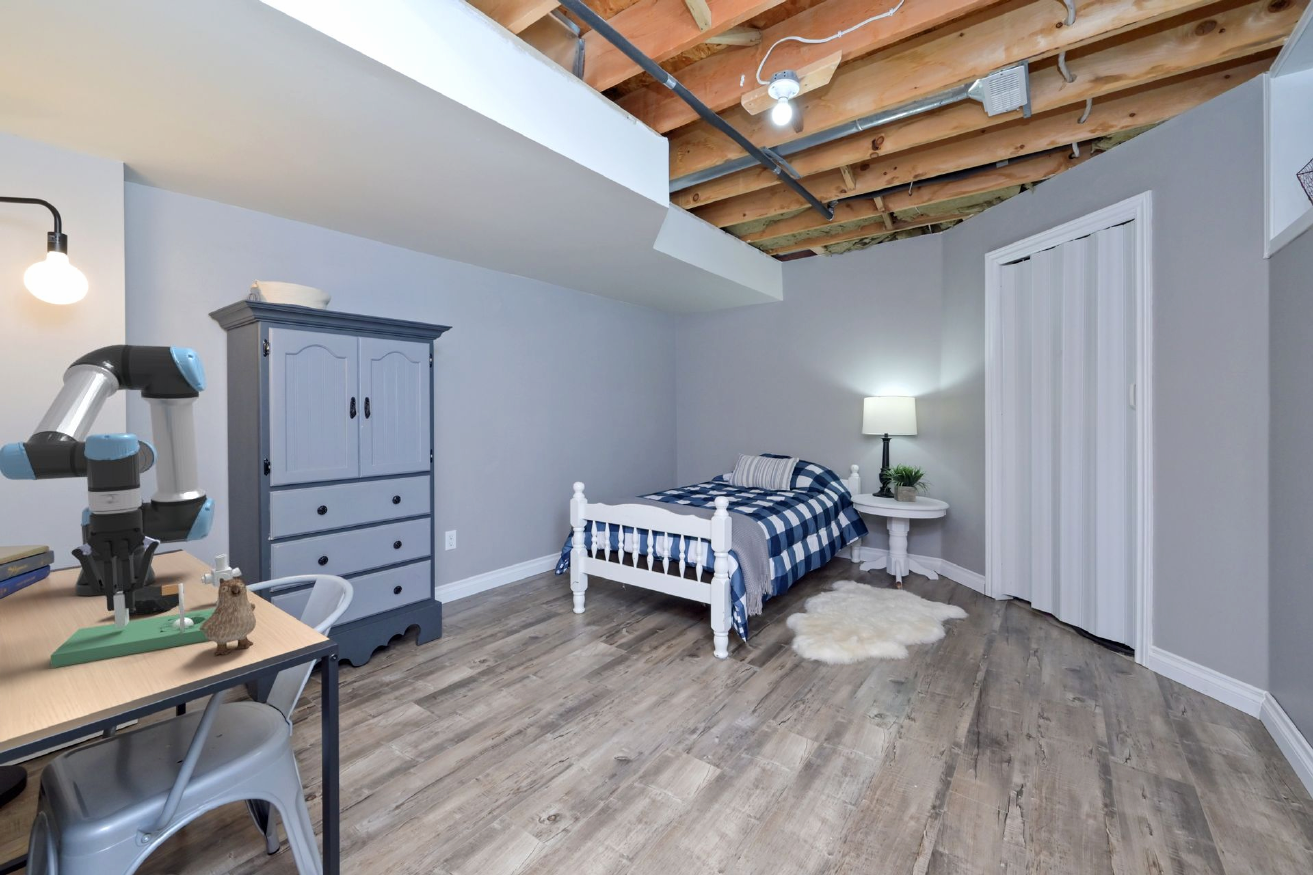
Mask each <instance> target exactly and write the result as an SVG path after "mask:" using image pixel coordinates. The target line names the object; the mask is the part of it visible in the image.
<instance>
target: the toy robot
mask: <svg viewBox="0 0 1313 875" xmlns="http://www.w3.org/2000/svg"><path fill="white" fill-rule="evenodd" d="M214 559H215V568H213V569H210V570H211V573H206V574H204V576H201V584H204V585H210V584H211V585H212V586H213V587H214V588H215V587H218V589H219V587H220V578H223V579H224V580H230V579H234V577H236V578H237V577H238V576H239V575H242V574H243V573H242V572H241V570H240V568H239V567H235V568H232V567H230V566H228V554H227V553H222V554H220V555H217V556H215V557H214ZM242 576H243V575H242ZM218 603H219V596H218V595H217V600H216V601H215V602H214V604H215V606H216V607H217V606H218Z"/></svg>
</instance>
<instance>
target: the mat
mask: <svg viewBox="0 0 1313 875" xmlns="http://www.w3.org/2000/svg"><path fill="white" fill-rule="evenodd" d="M161 586H162V595H169V594H177V593H179V604H178V607H179V611H178V612H179V613H176V614H170V615H164V616H163V615H162V616H155V617H149V618H144V619H137V620H129V622H128V624H127V625H126V626H123V627H116V628H115V623H109V624H104V625H98V626H97V625H96V626H90V627H83V628H79V629H77V631H75V632H74V633H73V634H72V635H71V636H70V637H69V638H68V639H67V640H65V641H64V642H63V643H62V644H61V645H60V646H59V647H58V648H56V650H54V651H53V652H52V654H50V668H51V669H54V668H59V667H65V666H71V665H77V664H83V663H89V662H95V661H100V660H105V659H111V658H116V657H123V656H128V655H135V654H139V653H145V652H151V651H152V652H153V651H156V650H163V649H169V648H174V647H178V646H185V645H186V646H187V645H190V644H196V643H201V642H207V641H210V640H209V639H207V637H206V635H205V630H199V629H200V627H201V626H202V624H203V623H204V622H205V621H206V620H207V619H209V618H210V617H211V615H212V614H213V613H214V611H215V609H216V608H217V607H215V608H207V609H202V610H196V611H190V612H189V611H188V612H185V602H184V601H185V600H184V593H183V591H184V583H175V584H168V585H161ZM184 618H190V619H191V620H192V621H193V623H194V625H191V626H185V619H184ZM178 619H180V627H173V626H172V625H173V623H174V622H175V621H176V620H178Z"/></svg>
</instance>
